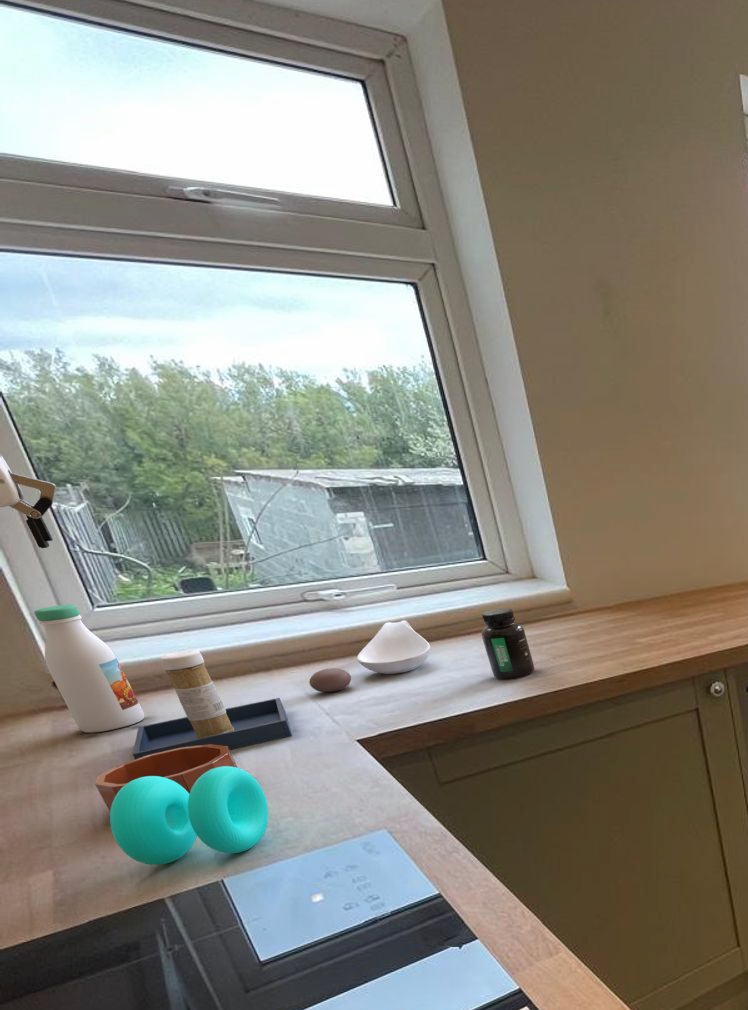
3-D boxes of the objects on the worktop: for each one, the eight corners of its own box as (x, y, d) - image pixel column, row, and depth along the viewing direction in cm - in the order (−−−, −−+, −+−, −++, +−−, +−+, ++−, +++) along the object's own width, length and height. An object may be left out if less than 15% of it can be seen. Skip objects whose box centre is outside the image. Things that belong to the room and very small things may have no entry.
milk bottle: (113, 733, 131) (51, 612, 123) (67, 734, 132) (2, 614, 124) (159, 715, 138) (103, 600, 131) (115, 716, 139) (57, 602, 131)
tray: (140, 770, 117) (132, 754, 116) (145, 742, 127) (138, 726, 126) (292, 735, 127) (285, 720, 126) (285, 711, 138) (279, 697, 137)
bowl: (110, 832, 99) (91, 795, 97) (118, 799, 108) (100, 765, 106) (244, 797, 107) (229, 763, 105) (241, 769, 116) (227, 737, 114)
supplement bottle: (513, 681, 148) (494, 617, 143) (485, 678, 150) (466, 615, 145) (543, 669, 154) (526, 607, 149) (516, 667, 156) (498, 606, 151)
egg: (306, 694, 146) (297, 673, 144) (341, 683, 151) (333, 663, 149) (327, 697, 144) (319, 676, 142) (362, 686, 149) (354, 665, 147)
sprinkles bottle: (215, 730, 129) (178, 649, 124) (243, 729, 129) (207, 648, 124) (188, 741, 125) (149, 658, 119) (217, 740, 125) (179, 657, 119)
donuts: (240, 866, 90) (201, 787, 86) (130, 884, 88) (86, 802, 84) (284, 825, 99) (251, 751, 95) (186, 839, 97) (148, 764, 93)
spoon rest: (434, 672, 155) (422, 635, 153) (359, 684, 150) (346, 647, 147) (439, 643, 174) (429, 611, 171) (373, 653, 169) (361, 620, 166)
